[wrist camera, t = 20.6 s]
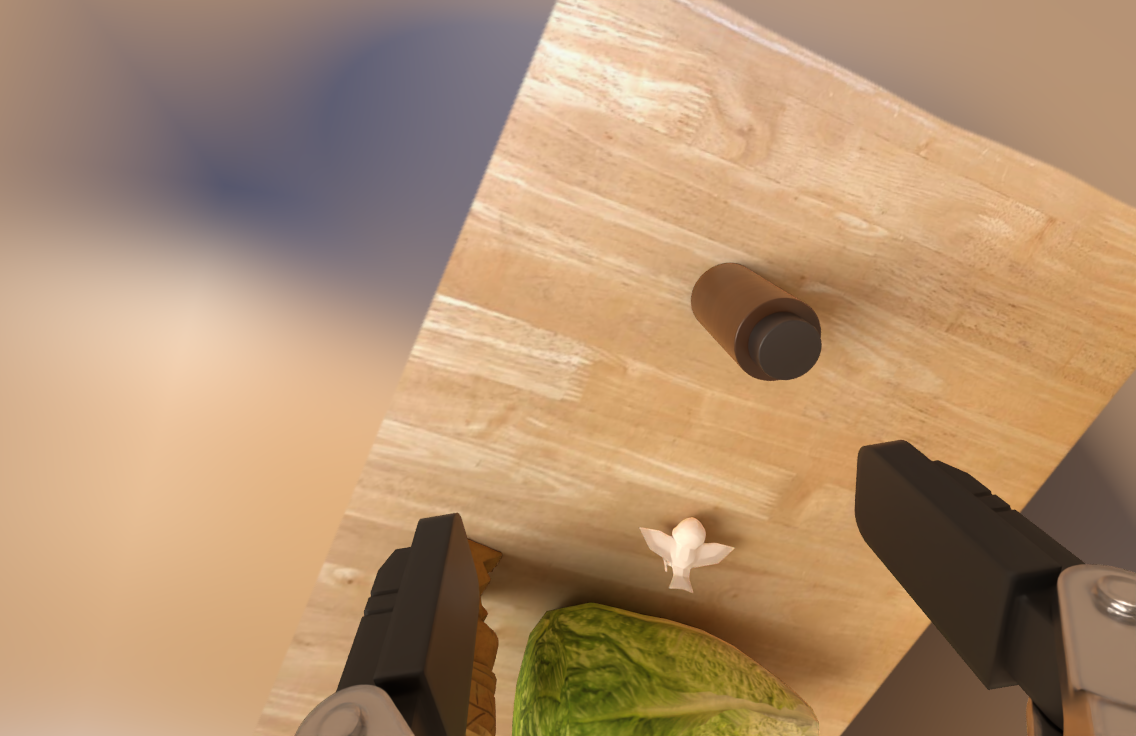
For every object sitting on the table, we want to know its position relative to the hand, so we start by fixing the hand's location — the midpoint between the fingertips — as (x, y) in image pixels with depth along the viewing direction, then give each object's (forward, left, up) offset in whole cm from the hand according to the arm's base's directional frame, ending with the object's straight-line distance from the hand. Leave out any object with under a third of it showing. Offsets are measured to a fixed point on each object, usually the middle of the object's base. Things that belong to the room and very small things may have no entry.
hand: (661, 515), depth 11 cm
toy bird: (+23, -5, -26) cm, 35 cm away
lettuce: (+33, -13, -26) cm, 44 cm away
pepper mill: (+8, +7, -26) cm, 28 cm away
